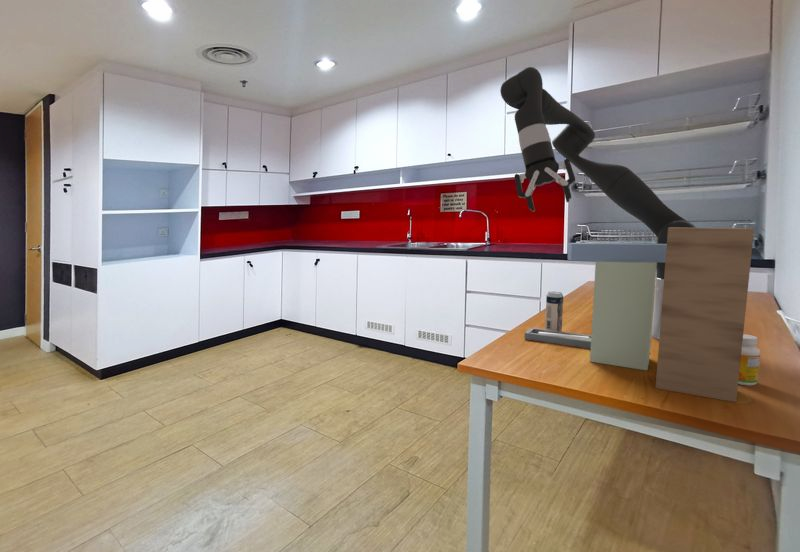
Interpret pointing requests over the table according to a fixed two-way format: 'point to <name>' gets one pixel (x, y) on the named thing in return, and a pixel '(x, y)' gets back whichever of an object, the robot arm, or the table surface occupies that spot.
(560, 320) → the beer can
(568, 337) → the white hexagonal pencil
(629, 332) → the pale green tall block
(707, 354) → the walnut stand
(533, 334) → the pen tray
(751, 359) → the supplement bottle
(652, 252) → the blue block
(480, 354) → the table surface
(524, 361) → the table surface
